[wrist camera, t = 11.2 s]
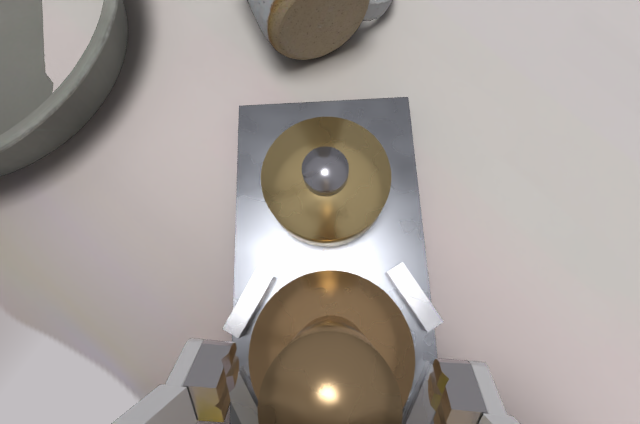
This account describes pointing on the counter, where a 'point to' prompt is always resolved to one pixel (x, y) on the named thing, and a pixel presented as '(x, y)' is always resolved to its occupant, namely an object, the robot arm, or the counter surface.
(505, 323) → the counter surface
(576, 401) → the counter surface
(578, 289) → the counter surface
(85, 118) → the cake pan
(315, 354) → the brass joystick knob
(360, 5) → the ceramic mug
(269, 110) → the carrier plate
